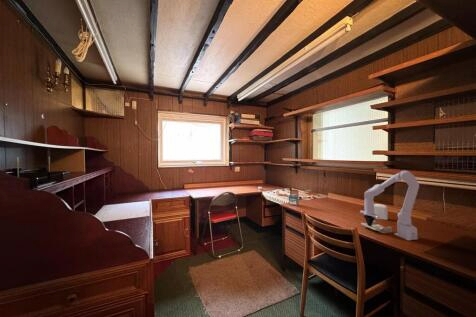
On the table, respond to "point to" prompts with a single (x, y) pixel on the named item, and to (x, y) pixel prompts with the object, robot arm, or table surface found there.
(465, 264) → the table surface
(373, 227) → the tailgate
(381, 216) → the photo printer
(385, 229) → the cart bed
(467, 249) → the table surface
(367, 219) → the robot arm
